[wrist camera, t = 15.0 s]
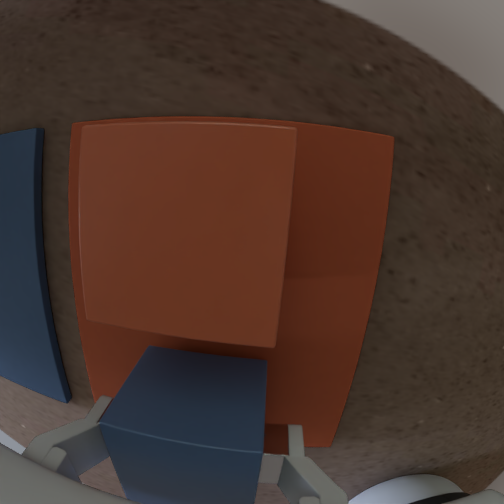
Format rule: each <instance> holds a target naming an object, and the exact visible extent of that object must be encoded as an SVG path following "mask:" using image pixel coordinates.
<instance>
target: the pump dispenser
mask: <svg viewBox="0 0 504 504" xmlns="http://www.w3.org/2000/svg"><path fill="white" fill-rule="evenodd" d="M469 495H470V494H468V493H464V492H463V491H462V490H461V489H460V488H459V487H458V486H457V485H456V484H455V483H453V482H451V481H450V480H448V479H446V478H443V477H440V476H436V475H431V474H414V475H407V476H402V477H398V478H394V479H391V480H388V481H385V482H382V483H380V484H377V485H375V486H373V487H371V488H369V489H367V490H365V491H363V492H362V493H360V494H359V495H357V496H356V497H354V498H353V499H351V500H350V501H349V502H348V504H443V503H446V502H450V501H453V500H457V499H460V498H463V497H466V496H469Z"/></svg>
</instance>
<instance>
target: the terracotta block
mask: <svg viewBox="0 0 504 504" xmlns="http://www.w3.org/2000/svg"><path fill="white" fill-rule="evenodd" d="M297 137H298V130H297V128H296V127H291V126H280V125H268V124H255V123H238V122H212V121H151V122H127V123H110V124H97V125H86V126H83V127H82V132H81V144H80V161H79V192H78V213H79V245H80V262H81V274H82V285H83V295H84V304H85V312H86V319H87V320H88V321H91V322H96V323H101V324H106V325H111V326H116V327H121V328H126V329H132V330H137V331H143V332H149V333H155V334H161V335H167V336H174V337H181V338H187V339H195V340H202V341H210V342H218V343H226V344H235V345H245V346H255V347H265V348H274V347H275V346H276V340H277V332H278V325H279V317H280V308H281V300H282V292H283V283H284V274H285V265H286V256H287V247H288V237H289V227H290V217H291V207H292V196H293V185H294V174H295V162H296V150H297Z"/></svg>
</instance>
